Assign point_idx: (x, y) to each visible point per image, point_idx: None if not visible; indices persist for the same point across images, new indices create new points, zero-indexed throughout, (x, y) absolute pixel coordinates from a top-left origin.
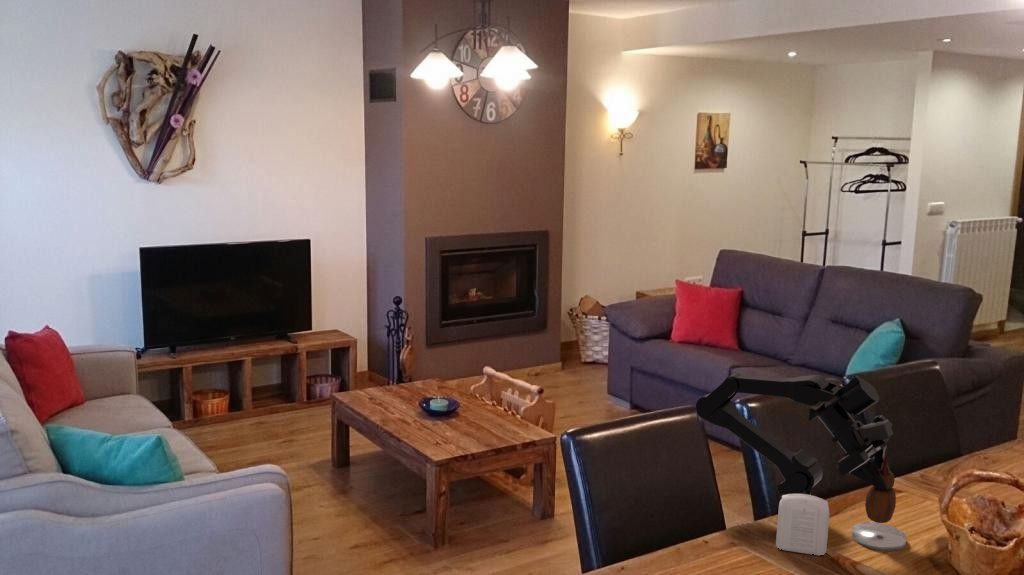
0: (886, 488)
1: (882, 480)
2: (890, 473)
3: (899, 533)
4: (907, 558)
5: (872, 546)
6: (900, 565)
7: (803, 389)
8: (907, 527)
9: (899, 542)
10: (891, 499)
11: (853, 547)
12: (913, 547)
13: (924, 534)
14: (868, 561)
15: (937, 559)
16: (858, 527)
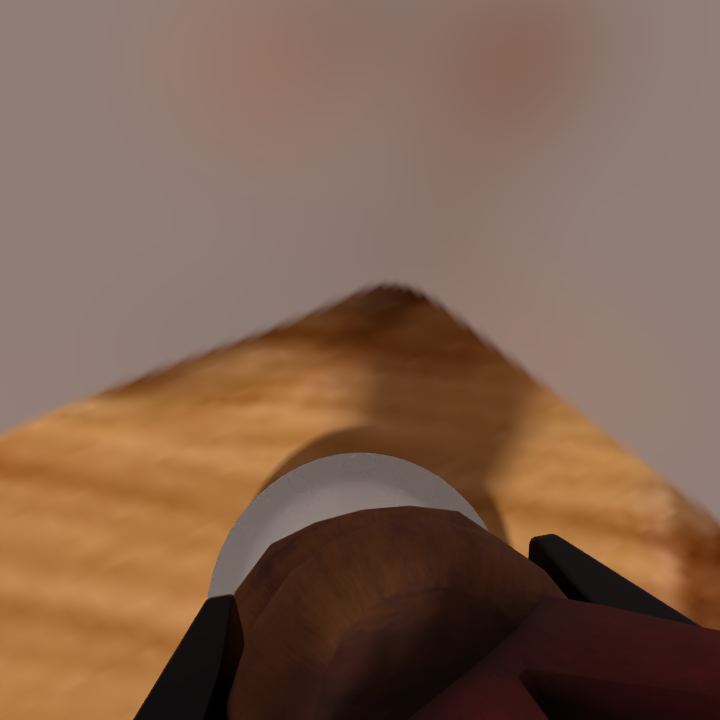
0: (557, 536)
1: (626, 604)
2: (427, 582)
3: (276, 515)
4: (448, 399)
5: None
6: (539, 391)
7: None
8: (73, 561)
9: (391, 462)
10: (436, 510)
11: None
12: (311, 428)
13: (110, 454)
14: (630, 510)
15: (353, 308)
16: None
